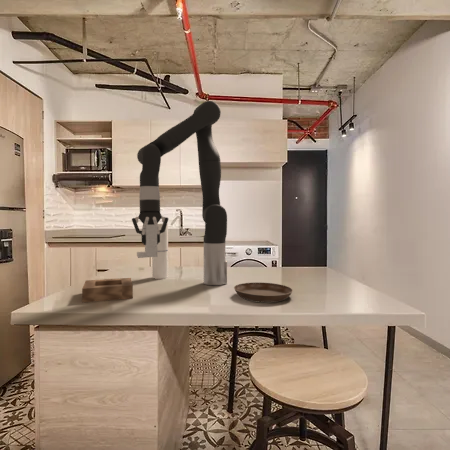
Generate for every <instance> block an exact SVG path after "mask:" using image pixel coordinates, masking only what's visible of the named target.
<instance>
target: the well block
mask: <svg viewBox="0 0 450 450" xmlns="http://www.w3.org/2000/svg"><path fill="white" fill-rule="evenodd" d="M133 288H134V285H133V281H132V277H124V278H123V277H122V278H121V277H120V278H108V279H107V278H104V279H103V278H102V279H89V280H85V282H84V284H83V286H82V289H81V292H82V293H81V294H82V298H81V299H82V303H91V302H92V303H93V302H103V301H104V302H105V301H115V300H116V301H117V300H127V299H128V300H129V299H133V297H134V291H133V290H134V289H133Z"/></svg>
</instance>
